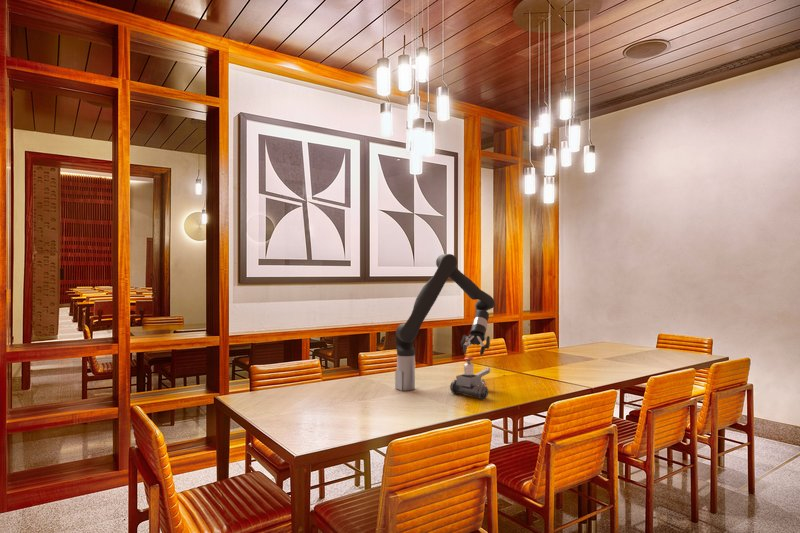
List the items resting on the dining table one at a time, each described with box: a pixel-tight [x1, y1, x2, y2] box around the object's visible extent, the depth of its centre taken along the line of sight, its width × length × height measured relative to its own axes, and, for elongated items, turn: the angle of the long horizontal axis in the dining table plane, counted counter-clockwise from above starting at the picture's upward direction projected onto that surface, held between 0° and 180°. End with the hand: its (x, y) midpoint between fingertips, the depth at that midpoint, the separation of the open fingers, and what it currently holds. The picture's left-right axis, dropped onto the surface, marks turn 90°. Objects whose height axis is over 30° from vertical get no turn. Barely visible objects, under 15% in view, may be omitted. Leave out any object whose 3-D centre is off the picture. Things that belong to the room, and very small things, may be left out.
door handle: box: [474, 366, 491, 386], centre depth 257 cm, size 18×8×20 cm
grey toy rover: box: [449, 373, 489, 401], centre depth 237 cm, size 18×8×10 cm, turn 43°
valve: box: [463, 357, 474, 378], centre depth 238 cm, size 4×4×12 cm
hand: (472, 353), depth 243 cm, fingers open, 8 cm apart
